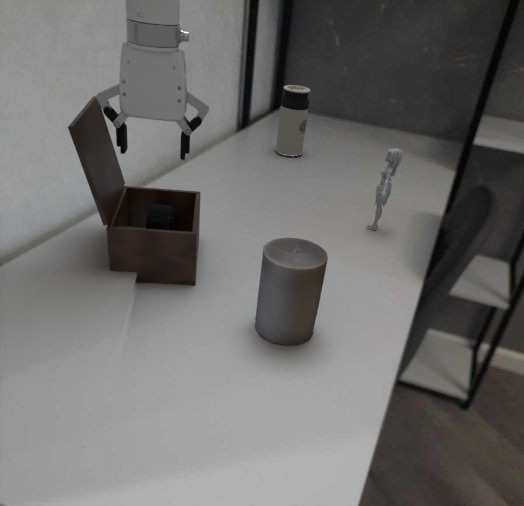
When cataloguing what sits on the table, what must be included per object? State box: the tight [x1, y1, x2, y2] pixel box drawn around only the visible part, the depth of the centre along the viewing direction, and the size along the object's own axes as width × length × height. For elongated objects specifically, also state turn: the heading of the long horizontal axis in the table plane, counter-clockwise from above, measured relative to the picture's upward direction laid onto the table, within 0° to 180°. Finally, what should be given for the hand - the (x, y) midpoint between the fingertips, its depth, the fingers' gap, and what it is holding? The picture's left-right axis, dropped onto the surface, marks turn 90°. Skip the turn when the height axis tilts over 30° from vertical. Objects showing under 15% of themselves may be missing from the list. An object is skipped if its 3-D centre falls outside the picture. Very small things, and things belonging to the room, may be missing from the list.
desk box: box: [105, 185, 201, 286], centre depth 95 cm, size 15×19×10 cm
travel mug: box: [275, 84, 311, 155], centre depth 151 cm, size 8×8×18 cm
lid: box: [67, 95, 126, 227], centre depth 86 cm, size 15×19×1 cm
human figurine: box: [366, 147, 403, 231], centre depth 114 cm, size 12×4×18 cm, turn 163°
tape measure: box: [145, 203, 175, 231], centre depth 95 cm, size 15×4×8 cm, turn 176°
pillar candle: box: [254, 237, 329, 346], centre depth 80 cm, size 10×10×15 cm
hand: (153, 154), depth 86 cm, fingers open, 9 cm apart
